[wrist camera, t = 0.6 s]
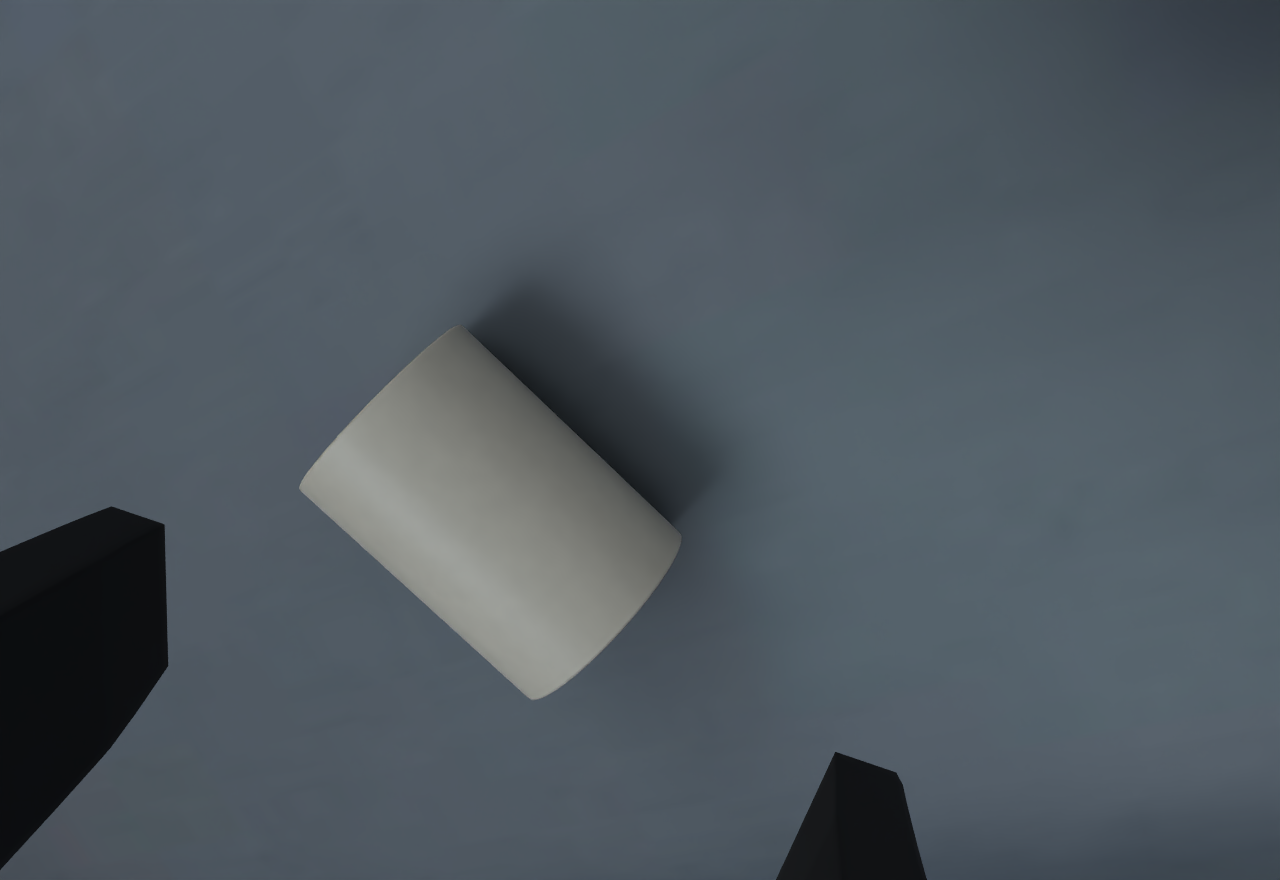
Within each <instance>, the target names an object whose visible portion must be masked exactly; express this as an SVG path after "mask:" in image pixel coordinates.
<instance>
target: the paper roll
mask: <svg viewBox="0 0 1280 880" xmlns="http://www.w3.org/2000/svg"><path fill="white" fill-rule="evenodd" d="M299 488H300V491H301V492H303V493H304V494H305V495H306V496H307V497H308V498H309V499H310V500H311V501H312V502H314V503H315V504H316V505H317V506H318V507H319V508H320V509H321V510H322V511H323V512H325V513H326V514H327V515H328V516H329V517H330V518H331V519H332V520H333V521H334V522H336V523H337V524H338V525H339V526H340V527H341V528H342V529H343V530H344V531H345V532H347V533H348V534H349V535H350V536H351V537H352V538H353V539H354V540H355V541H356V542H358V543H359V544H360V545H361V546H362V547H363V548H364V549H365V550H366V551H367V552H369V553H370V554H371V555H372V556H373V557H374V558H375V559H376V560H377V561H378V562H380V563H381V564H382V565H383V566H384V567H385V568H386V569H387V570H388V571H389V572H391V573H392V574H393V575H394V576H395V577H396V578H397V579H398V580H399V581H400V582H402V583H403V584H404V585H405V586H406V587H407V588H408V589H409V590H410V591H411V592H413V593H414V594H415V595H416V596H417V597H418V598H419V599H420V600H421V601H422V602H424V603H425V604H426V605H427V606H428V607H429V608H430V609H431V610H432V611H433V612H435V613H436V614H437V615H438V616H439V617H440V618H441V619H442V620H443V621H444V622H446V623H447V624H448V625H449V626H450V627H451V628H452V629H453V630H454V631H455V632H457V633H458V634H459V635H460V636H461V637H462V638H463V639H464V640H465V641H466V642H468V643H469V644H470V645H471V646H472V647H473V648H474V649H475V650H476V651H477V652H479V653H480V654H481V655H482V656H483V657H484V658H485V659H486V660H487V661H488V662H489V663H491V664H492V665H493V666H494V667H495V668H496V669H497V670H498V671H499V672H500V673H502V674H503V675H504V676H505V677H506V678H507V679H508V680H509V681H510V682H511V683H513V684H514V685H515V686H516V687H517V688H518V689H519V690H520V691H521V692H522V693H524V694H525V695H526V696H527V697H528V698H530V699H532V700H537V699H540V698H543V697H545V696H547V695H549V694H551V693H552V692H554V691H555V690H557V689H558V688H560V687H561V686H563V685H564V684H565V683H567V682H568V681H569V680H571V679H572V678H573V677H574V676H575V675H577V674H578V673H579V672H580V671H581V670H582V669H584V668H585V667H586V666H587V665H588V664H589V663H590V662H591V661H592V660H593V659H594V658H595V657H597V656H598V655H599V654H600V653H601V652H602V651H603V650H604V649H605V648H606V647H607V646H608V645H609V644H610V643H611V641H612V640H613V639H614V638H615V637H616V636H617V635H618V634H619V633H620V632H621V631H622V630H623V628H624V627H625V626H626V625H627V624H628V623H629V622H630V621H631V619H632V618H633V617H634V616H635V615H636V613H637V612H638V611H639V610H640V609H641V607H642V606H643V605H644V604H645V602H646V601H647V600H648V599H649V597H650V596H651V595H652V593H653V592H654V590H655V589H656V588H657V586H658V585H659V584H660V582H661V581H662V579H663V578H664V576H665V575H666V573H667V571H668V570H669V568H670V567H671V565H672V563H673V561H674V559H675V557H676V555H677V553H678V550H679V548H680V545H681V540H682V537H681V534H680V532H679V531H678V530H677V529H676V528H674V527H673V526H672V525H671V524H670V523H669V522H668V521H667V520H666V519H665V518H664V517H663V516H662V515H661V514H660V513H659V512H658V511H657V510H656V509H655V508H653V507H652V506H651V505H650V504H649V503H648V502H647V501H646V500H645V499H644V498H643V497H642V496H641V495H640V494H639V493H638V492H637V491H636V490H635V489H634V488H632V487H631V486H630V485H629V484H628V483H627V482H626V481H625V480H624V479H623V478H622V477H621V476H620V475H619V474H618V473H617V472H616V471H615V470H614V469H613V468H611V467H610V466H609V465H608V464H607V463H606V462H605V461H604V460H603V459H602V458H601V457H600V456H599V455H598V454H597V453H596V452H595V451H594V450H593V449H591V448H590V447H589V446H588V445H587V444H586V443H585V442H584V441H583V440H582V439H581V438H580V437H579V436H578V435H577V434H576V433H575V432H574V431H573V430H572V429H570V428H569V427H568V426H567V425H566V424H565V423H564V422H563V421H562V420H561V419H560V418H559V417H558V416H557V415H556V414H555V413H554V412H553V411H552V410H551V409H549V408H548V407H547V406H546V405H545V404H544V403H543V402H542V401H541V400H540V399H539V398H538V397H537V396H536V395H535V394H534V393H533V392H532V391H531V390H530V389H528V388H527V387H526V386H525V385H524V384H523V383H522V382H521V381H520V380H519V379H518V378H517V377H516V376H515V375H514V374H513V373H512V372H511V371H510V370H509V369H507V368H506V367H505V366H504V365H503V364H502V363H501V362H500V361H499V360H498V359H497V358H496V357H495V356H494V355H493V354H492V353H491V352H490V351H489V350H488V349H486V348H485V347H484V346H483V345H482V344H481V343H480V342H479V341H478V340H477V339H476V338H475V337H474V336H473V335H472V334H471V333H470V332H469V331H468V330H467V329H465V328H464V327H463V326H462V325H457V326H455V327H453V328H451V329H450V330H448V331H447V332H445V333H444V334H443V335H441V336H440V337H439V338H438V339H436V340H435V341H434V342H433V343H432V344H430V345H429V346H428V347H427V348H426V349H425V350H424V351H422V352H421V353H420V354H419V355H418V356H417V357H416V358H415V359H414V360H412V361H411V362H410V363H409V364H408V365H407V366H406V367H405V368H404V369H403V370H402V371H401V372H400V373H399V374H398V375H397V376H395V377H394V378H393V379H392V380H391V381H390V382H389V383H388V384H387V385H386V386H385V387H384V388H383V389H382V390H381V391H380V392H379V393H378V394H377V395H376V396H375V397H374V398H373V399H372V400H371V401H370V402H369V403H368V404H367V405H366V406H365V407H364V408H363V409H362V411H361V412H360V413H359V414H358V415H357V416H356V417H355V418H354V419H353V420H352V421H351V422H350V423H349V424H348V425H347V426H346V428H345V429H344V430H343V431H342V432H341V433H340V434H339V435H338V436H337V437H336V439H335V440H334V441H333V442H332V443H331V444H330V445H329V446H328V448H327V449H326V450H325V451H324V452H323V453H322V455H321V456H320V457H319V458H318V459H317V461H316V462H315V463H314V464H313V466H312V467H311V468H310V470H309V471H308V472H307V474H306V475H305V477H304V478H303V480H302V482H301V484H300V486H299Z"/></svg>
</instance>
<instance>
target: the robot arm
mask: <svg viewBox="0 0 1280 880" xmlns="http://www.w3.org/2000/svg"><path fill="white" fill-rule="evenodd" d="M167 667H168V642H167V603H166V565H165V526H164V524H162V523H159V522H156V521H153V520H150V519H147V518H144V517H141V516H138V515H135V514H132V513H129V512H126V511H123V510H120V509H118V508H115V507H112V506H111V507H109V508H106V509H104V510H101V511H98V512H96V513H93V514H90V515H88V516H85V517H83V518H80V519H78V520H75V521H73V522H70V523H68V524H66V525H63V526H61V527H58V528H56V529H53V530H51V531H49V532H46V533H44V534H42V535H39V536H37V537H34V538H32V539H30V540H27V541H25V542H23V543H20V544H18V545H16V546H13V547H11V548H8V549H6V550H4V551H1V552H0V870H1V868H2V867H3V866H4V865H5V864H6V863H7V862H8V861H9V860H10V859H11V857H12V856H13V855H14V854H15V853H16V852H17V851H18V850H19V849H20V848H21V847H22V845H23V844H24V843H25V842H26V841H27V840H28V839H29V838H30V837H31V836H32V835H33V833H34V832H35V831H36V830H37V829H38V828H39V827H40V826H41V825H42V824H43V823H44V821H45V820H46V819H47V818H48V817H49V816H50V815H51V814H52V813H53V812H54V810H55V809H56V808H57V807H58V806H59V805H60V804H61V803H62V802H63V801H64V799H65V798H66V797H67V796H68V795H69V794H70V793H71V792H72V791H73V789H74V788H75V787H76V786H77V785H78V784H79V783H80V782H81V781H82V779H83V778H84V777H85V776H86V775H87V774H88V773H89V772H90V771H91V769H92V768H93V767H94V766H95V765H96V764H97V763H98V761H99V760H100V759H101V758H102V757H103V756H104V755H105V753H106V752H107V751H108V750H109V749H110V748H111V746H112V745H113V744H114V742H115V741H116V740H117V738H118V737H119V735H120V734H121V733H122V731H123V730H124V729H125V727H126V726H127V724H128V723H129V722H130V720H131V719H132V718H133V716H134V715H135V714H136V712H137V711H138V709H139V708H140V706H141V705H142V703H143V702H144V701H145V699H146V698H147V696H148V695H149V693H150V692H151V690H152V689H153V687H154V686H155V684H156V683H157V681H158V680H159V679H160V677H161V676H162V674H163V673H164V671H165V670H166V668H167ZM776 880H927V878H926V875H925V872H924V868H923V864H922V861H921V857H920V853H919V850H918V846H917V842H916V838H915V834H914V830H913V827H912V823H911V818H910V814H909V810H908V806H907V802H906V798H905V793H904V789H903V784H902V783H901V781H900V779H899V777H898V775H897V773H896V772H893V771H890V770H887V769H884V768H881V767H878V766H875V765H872V764H869V763H866V762H863V761H861V760H858V759H855V758H852V757H849V756H846V755H843V754H840V753H837V752H835V754H834V756H833V758H832V760H831V762H830V765H829V767H828V769H827V771H826V773H825V775H824V778H823V780H822V782H821V784H820V786H819V788H818V790H817V793H816V795H815V797H814V799H813V801H812V803H811V806H810V808H809V810H808V812H807V814H806V816H805V819H804V821H803V823H802V825H801V827H800V829H799V832H798V834H797V836H796V838H795V840H794V842H793V844H792V847H791V849H790V851H789V853H788V855H787V857H786V860H785V862H784V864H783V866H782V868H781V870H780V873H779V875H778V877H777V879H776Z"/></svg>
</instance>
